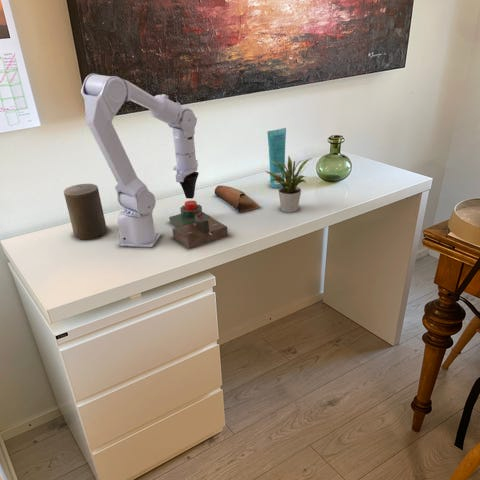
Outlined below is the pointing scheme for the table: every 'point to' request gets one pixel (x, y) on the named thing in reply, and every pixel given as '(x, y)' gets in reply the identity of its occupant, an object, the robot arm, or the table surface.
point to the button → (190, 205)
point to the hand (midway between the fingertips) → (190, 197)
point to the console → (199, 233)
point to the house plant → (289, 186)
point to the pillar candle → (85, 211)
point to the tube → (276, 153)
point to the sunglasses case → (236, 198)
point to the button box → (186, 216)
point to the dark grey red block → (201, 223)
